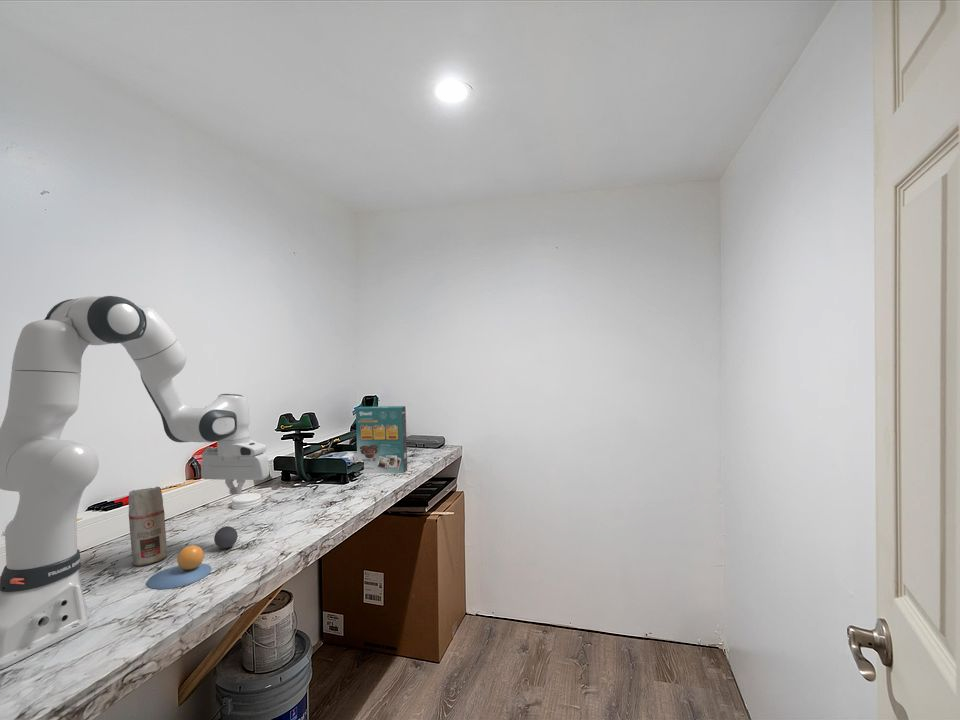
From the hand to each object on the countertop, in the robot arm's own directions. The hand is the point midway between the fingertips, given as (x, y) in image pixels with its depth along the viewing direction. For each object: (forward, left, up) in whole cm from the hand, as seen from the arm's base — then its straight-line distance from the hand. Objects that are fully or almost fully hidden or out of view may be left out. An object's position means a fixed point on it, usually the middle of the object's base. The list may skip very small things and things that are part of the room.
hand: (235, 493), depth 147 cm
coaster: (+33, +19, -15) cm, 41 cm away
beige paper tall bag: (-15, +16, -14) cm, 26 cm away
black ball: (-5, 0, -11) cm, 12 cm away
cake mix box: (+85, -15, -14) cm, 88 cm away
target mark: (-23, 0, -14) cm, 27 cm away
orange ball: (-19, 0, -11) cm, 22 cm away
